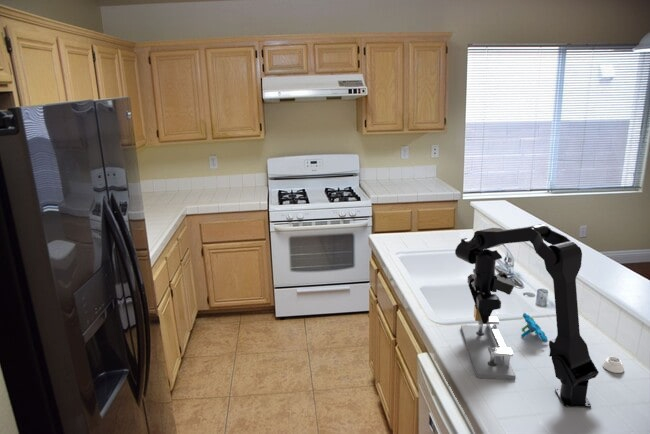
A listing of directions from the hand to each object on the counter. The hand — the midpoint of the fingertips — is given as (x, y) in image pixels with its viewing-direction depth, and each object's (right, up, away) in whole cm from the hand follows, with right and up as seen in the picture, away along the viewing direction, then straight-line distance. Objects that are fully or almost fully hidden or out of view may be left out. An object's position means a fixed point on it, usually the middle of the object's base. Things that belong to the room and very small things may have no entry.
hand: (481, 315), depth 143 cm
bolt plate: (-1, -9, -5) cm, 11 cm away
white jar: (+31, -12, -15) cm, 37 cm away
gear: (+17, -7, +2) cm, 18 cm away
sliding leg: (+2, -6, +1) cm, 6 cm away
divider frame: (+1, -8, -5) cm, 9 cm away
